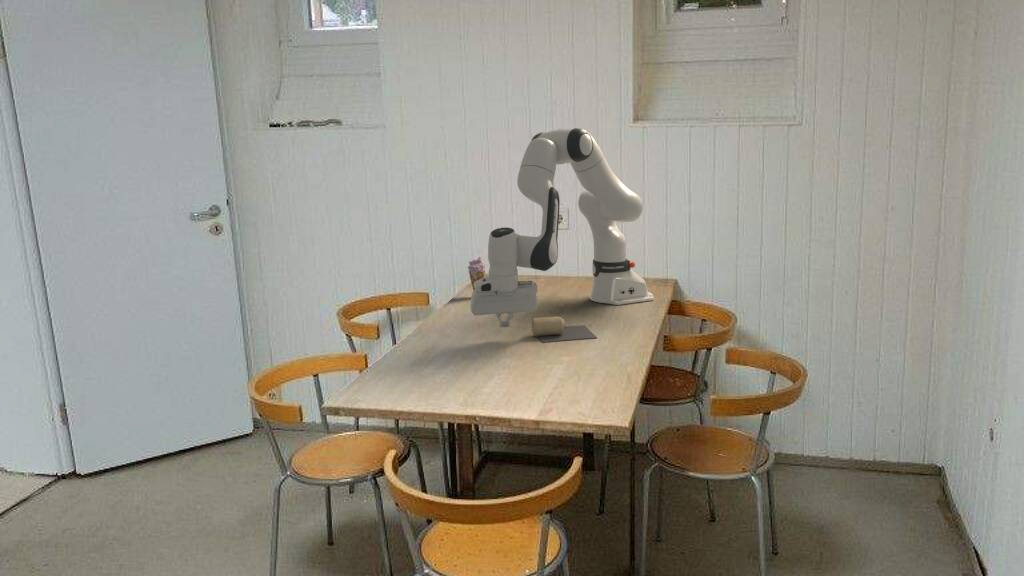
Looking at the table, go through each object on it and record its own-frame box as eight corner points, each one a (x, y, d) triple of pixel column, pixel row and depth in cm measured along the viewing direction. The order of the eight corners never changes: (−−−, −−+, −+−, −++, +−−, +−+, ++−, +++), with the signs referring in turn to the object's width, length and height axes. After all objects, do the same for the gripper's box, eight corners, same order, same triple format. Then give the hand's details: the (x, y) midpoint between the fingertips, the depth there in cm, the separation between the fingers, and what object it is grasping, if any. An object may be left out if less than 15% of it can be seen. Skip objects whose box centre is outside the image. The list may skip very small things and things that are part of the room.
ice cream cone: (485, 299, 324) (484, 258, 320) (468, 300, 324) (466, 259, 321) (486, 295, 330) (485, 255, 327) (469, 295, 331) (467, 255, 327)
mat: (584, 325, 288) (584, 325, 288) (597, 338, 275) (597, 337, 275) (532, 330, 285) (532, 329, 285) (542, 342, 272) (542, 341, 272)
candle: (534, 335, 274) (567, 333, 276) (533, 317, 275) (566, 315, 276) (532, 336, 280) (564, 334, 281) (530, 318, 280) (562, 316, 282)
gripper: (535, 278, 278) (535, 321, 281) (468, 282, 274) (470, 326, 277) (539, 282, 272) (540, 327, 275) (472, 287, 268) (473, 332, 271)
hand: (504, 326), depth 276 cm, fingers closed
